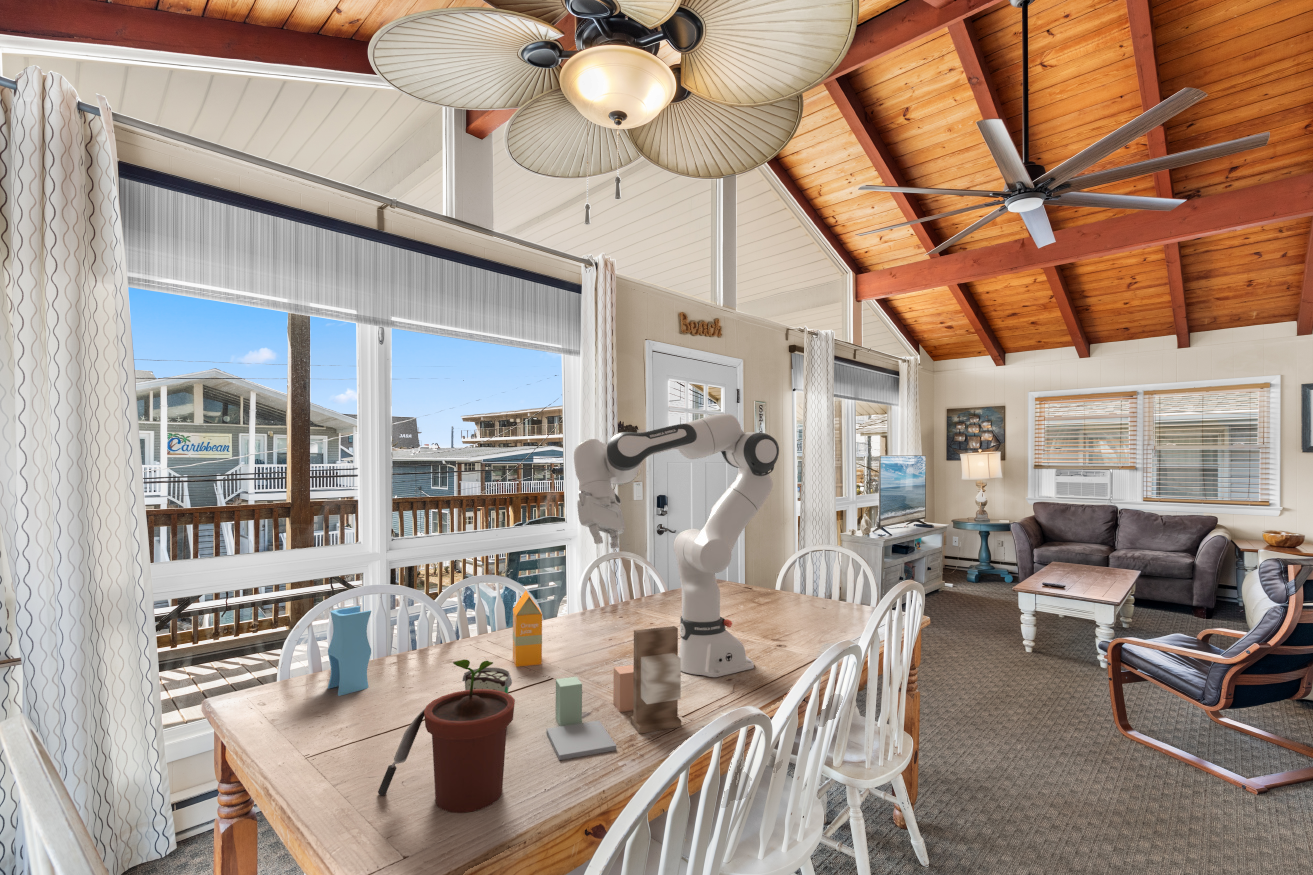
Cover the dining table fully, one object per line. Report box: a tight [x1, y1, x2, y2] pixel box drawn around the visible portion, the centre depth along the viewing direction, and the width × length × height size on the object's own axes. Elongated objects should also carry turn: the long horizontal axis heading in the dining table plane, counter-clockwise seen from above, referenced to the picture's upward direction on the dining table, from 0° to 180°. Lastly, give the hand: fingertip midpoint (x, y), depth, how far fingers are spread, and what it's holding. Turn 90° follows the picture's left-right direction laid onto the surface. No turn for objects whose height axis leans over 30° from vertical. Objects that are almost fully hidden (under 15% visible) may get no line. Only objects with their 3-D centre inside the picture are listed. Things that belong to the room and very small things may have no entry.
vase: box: [327, 605, 372, 697], centre depth 163 cm, size 8×8×20 cm
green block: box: [555, 676, 583, 727], centre depth 144 cm, size 5×5×9 cm
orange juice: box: [512, 590, 543, 668], centre depth 185 cm, size 8×9×20 cm
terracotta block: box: [612, 664, 634, 713], centre depth 152 cm, size 5×5×9 cm
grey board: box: [546, 719, 617, 761], centre depth 133 cm, size 12×13×1 cm
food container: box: [462, 667, 513, 694], centre depth 147 cm, size 12×6×10 cm, turn 71°
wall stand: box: [629, 625, 682, 735], centre depth 141 cm, size 10×8×22 cm
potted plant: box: [377, 659, 516, 814], centre depth 114 cm, size 18×22×25 cm
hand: (607, 546), depth 163 cm, fingers open, 8 cm apart
